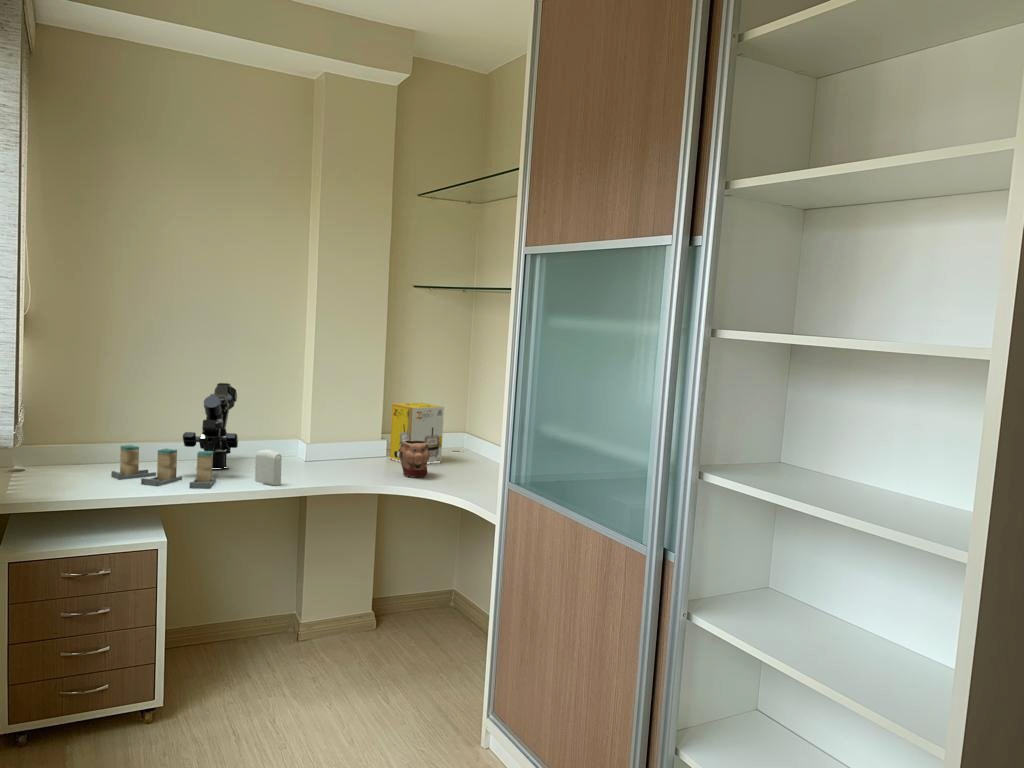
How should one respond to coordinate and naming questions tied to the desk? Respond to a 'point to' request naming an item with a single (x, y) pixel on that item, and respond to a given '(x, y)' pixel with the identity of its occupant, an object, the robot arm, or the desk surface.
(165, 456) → the oak key
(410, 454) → the decorative planter
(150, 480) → the slate track
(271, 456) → the photo printer
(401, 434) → the packaging box
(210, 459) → the oak key
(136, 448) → the oak key
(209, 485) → the slate track
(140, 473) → the slate track
